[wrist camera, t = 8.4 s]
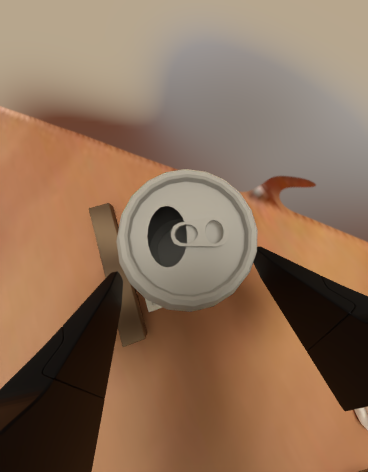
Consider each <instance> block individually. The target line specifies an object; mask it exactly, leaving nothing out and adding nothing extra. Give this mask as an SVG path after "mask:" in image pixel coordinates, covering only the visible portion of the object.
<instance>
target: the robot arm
mask: <svg viewBox="0 0 368 472" xmlns="http://www.w3.org/2000/svg"><path fill="white" fill-rule="evenodd" d="M253 263H254V265H255V267H256V269H257V271H258V273H259V275H260V277H261V279H262V281H263V282H264V284H265V286H266V287H267V289H268V290H269V292H270V293H271V295H272V297H273V298H274V300H275V301H276V303H277V305H278V306H279V308H280V309H281V311H282V313H283V314H284V316H285V317H286V319H287V321H288V322H289V324H290V325H291V327H292V329H293V330H294V332H295V333H296V335H297V337H298V338H299V340H300V341H301V343H302V345H303V346H304V348H305V349H306V351H307V353H308V354H309V356H310V358H311V359H312V361H313V362H314V364H315V366H316V367H317V369H318V370H319V372H320V373H321V375H322V377H323V378H324V380H325V381H326V383H327V385H328V386H329V388H330V389H331V391H332V393H333V394H334V396H335V397H336V399H337V401H338V402H339V404H340V405H341V407H342V408H343V410H344V411H349V410H354V409H359V408H364V407H368V296H366V295H363V294H361V293H359V292H356V291H354V290H352V289H349V288H347V287H345V286H342V285H340V284H338V283H336V282H334V281H331V280H329V279H327V278H325V277H323V276H320V275H319V274H317V273H315V272H313V271H310V270H308V269H306V268H304V267H302V266H300V265H298V264H296V263H294V262H292V261H290V260H287V259H285V258H283V257H281V256H279V255H277V254H275V253H273V252H271V251H269V250H267V249H265V248H262V247H257V253H256V256H255V258H254V261H253ZM122 293H123V279H122V277H121V275H120V273H119V272H118V271H115V272H111V273H110V274H109V275H108V276H107V277H106V278H105V280H104V281H103V282H102V283H101V284H100V285H99V286H98V287H97V288H96V289H95V291H94V292H93V293H92V294H91V295H90V296H89V297H88V298H87V299H86V301H85V302H84V303H83V304H82V305H81V306H80V307H79V308H78V309H77V310H76V312H75V313H74V314H73V315H72V316H71V317H70V318H69V319H68V320H67V322H66V323H65V324H64V325H63V327H61V328H60V329H59V330H58V331H57V332H56V334H55V335H54V336H53V337H52V338H51V339H50V340H49V341H48V342H47V343H46V344H45V345H44V346H43V347H42V348H41V349H40V350H39V351H38V352H37V353H36V355H35V356H34V357H33V358H32V359H31V360H30V361H29V362H27V363H26V364H25V365H24V366H23V367H22V368H21V369H20V370H19V371H18V372H17V373H16V374H15V375H14V376H13V377H12V378H11V379H10V380H9V381H8V382H7V383H6V384H5V385H4V386H3V387H2V388H1V389H0V472H91V471H92V466H93V460H94V455H95V449H96V444H97V439H98V433H99V428H100V422H101V417H102V411H103V406H104V400H105V399H104V398H105V394H106V389H107V383H108V378H109V372H110V367H111V361H112V356H113V350H114V345H115V340H116V334H117V329H118V323H119V318H120V312H121V306H122ZM359 472H368V469H366V470H362V471H359Z"/></svg>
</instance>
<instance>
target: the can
mask: <svg viewBox="0 0 368 472" xmlns="http://www.w3.org/2000/svg"><path fill="white" fill-rule="evenodd" d="M116 242H117V249H118V256H119V263H120V265H121V267H122V269H123V271H124V273H125V275H126V277H127V279H128V281H129V283H130V284H131V285H132V286H133V287H134V288H135V289H136V290H137V291H138V292H139V293H140V294H141V295H142V296H143V297H144V298H145V299H146V300H148V301H151V302H153V303H155V304H157V305H159V306H161V307H164V308H166V309H168V310H178V311H188V312H192V311H196V310H201V309H205V308H209V307H213V306H215V305H216V304H218V303H220V302H221V301H223V300H224V299H226V298H227V297H229V296H230V295H232V294H233V293H234V292H235V290H236V289H237V288H238V287H239V285H240V284H241V283H242V281H243V280H244V279H245V278H246V276H247V275H248V274H249V272H250V270H251V267H252V264H253V261H254V258H255V256H256V253H257V227H256V224H255V220H254V217H253V214H252V210H251V209H250V207H249V206H248V204H247V203H246V201H245V200H244V198H243V197H242V195H241V194H240V192H238V191H237V190H236V189H235V188H233V187H232V186H231V185H230V184H229V183H228V182H226V181H225V180H224V179H221V178H219V177H217V176H214V175H212V174H210V173H208V172H204V171H197V170H188V169H183V170H177V171H171V172H165V173H163V174H161V175H159V176H157V177H155V178H153V179H151V180H149V181H147V182H146V183H145V184H144V185H143V186H142V187H141V188H140V189H139V190H138V191H136V192H135V193H134V194H133V195H132V196H131V198H130V200H129V202H128V204H127V206H126V207H125V209H124V211H123V213H122V215H121V219H120V224H119V230H118V235H117V241H116Z"/></svg>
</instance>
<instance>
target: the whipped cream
mask: <svg viewBox="0 0 368 472" xmlns="http://www.w3.org/2000/svg"><path fill="white" fill-rule="evenodd" d="M354 410H355V413H356V415H357V417H358V419H359V421H360V423H361V424H362V425H363V426H364V427H365V428H366V429H367V430H368V407H364V408H359V409H354Z"/></svg>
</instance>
